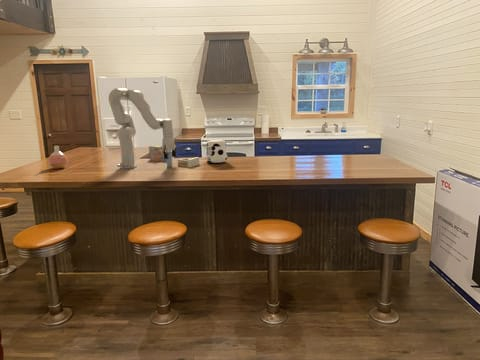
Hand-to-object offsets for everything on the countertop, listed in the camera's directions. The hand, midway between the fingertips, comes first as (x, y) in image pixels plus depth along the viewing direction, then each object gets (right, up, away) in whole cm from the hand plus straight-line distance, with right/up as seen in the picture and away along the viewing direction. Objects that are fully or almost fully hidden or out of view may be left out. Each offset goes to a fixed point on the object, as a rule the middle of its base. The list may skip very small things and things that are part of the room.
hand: (170, 157), depth 272 cm
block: (+12, -5, +6) cm, 15 cm away
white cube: (+35, -3, +18) cm, 39 cm away
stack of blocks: (-15, 0, +35) cm, 38 cm away
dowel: (-1, -7, +2) cm, 8 cm away
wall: (+18, -6, +3) cm, 19 cm away
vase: (-88, -8, +5) cm, 88 cm away
